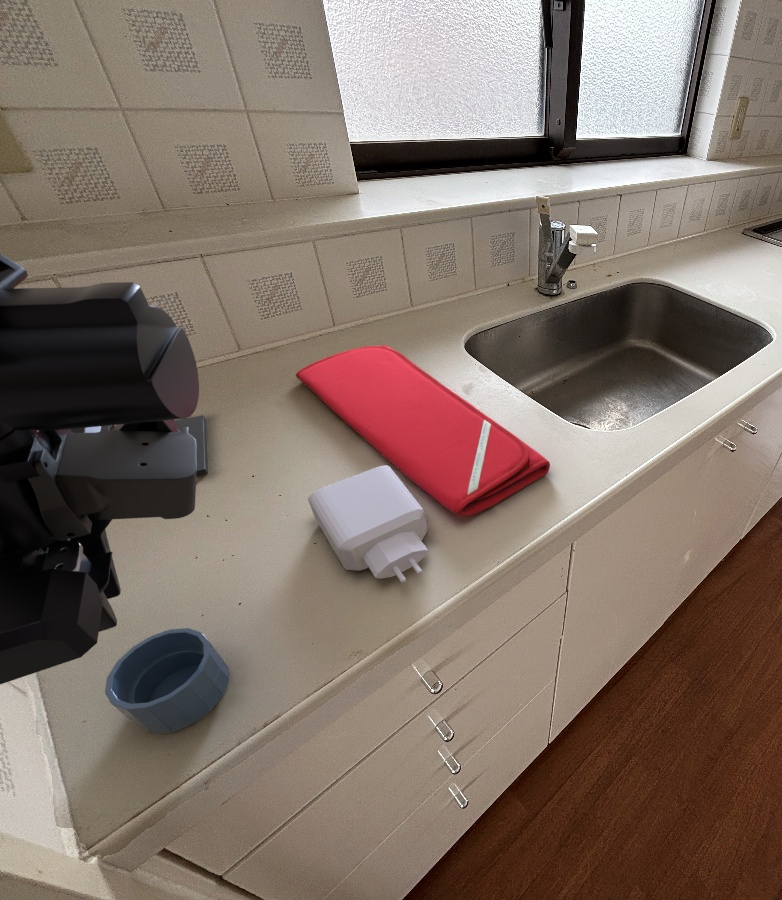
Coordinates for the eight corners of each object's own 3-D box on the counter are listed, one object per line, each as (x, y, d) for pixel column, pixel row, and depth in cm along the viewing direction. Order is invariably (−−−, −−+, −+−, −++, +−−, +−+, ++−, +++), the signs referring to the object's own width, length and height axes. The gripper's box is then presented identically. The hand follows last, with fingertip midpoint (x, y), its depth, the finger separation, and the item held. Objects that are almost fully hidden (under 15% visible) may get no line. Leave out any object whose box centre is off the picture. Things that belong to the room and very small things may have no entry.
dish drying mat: (390, 352, 87) (387, 333, 84) (553, 472, 68) (554, 451, 66) (296, 382, 77) (290, 361, 75) (456, 531, 58) (454, 509, 56)
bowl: (134, 752, 38) (100, 725, 35) (140, 679, 42) (109, 649, 39) (233, 710, 41) (210, 682, 38) (229, 646, 45) (208, 616, 42)
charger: (370, 615, 49) (316, 522, 57) (455, 569, 54) (394, 490, 62) (361, 587, 46) (305, 493, 54) (452, 541, 51) (389, 462, 59)
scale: (70, 505, 55) (57, 489, 53) (84, 442, 62) (73, 427, 61) (207, 474, 61) (199, 459, 59) (206, 420, 68) (198, 405, 66)
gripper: (145, 507, 22) (259, 675, 32) (160, 324, 33) (240, 489, 43) (-277, 609, 17) (17, 772, 27) (-86, 351, 28) (69, 531, 38)
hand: (109, 611), depth 34 cm, fingers closed
